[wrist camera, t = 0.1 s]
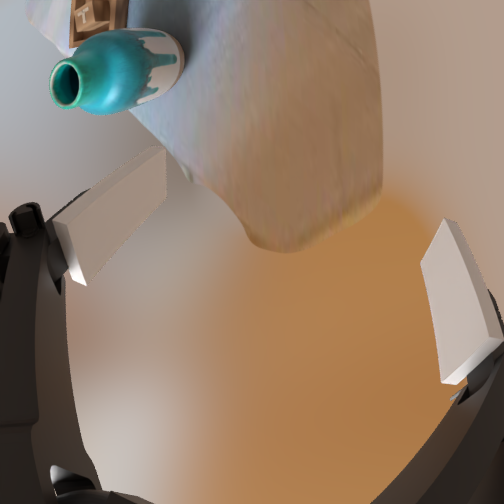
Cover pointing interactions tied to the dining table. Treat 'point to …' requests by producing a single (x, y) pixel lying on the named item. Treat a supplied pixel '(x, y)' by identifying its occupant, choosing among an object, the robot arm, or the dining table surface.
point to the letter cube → (92, 15)
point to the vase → (117, 71)
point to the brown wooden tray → (117, 21)
